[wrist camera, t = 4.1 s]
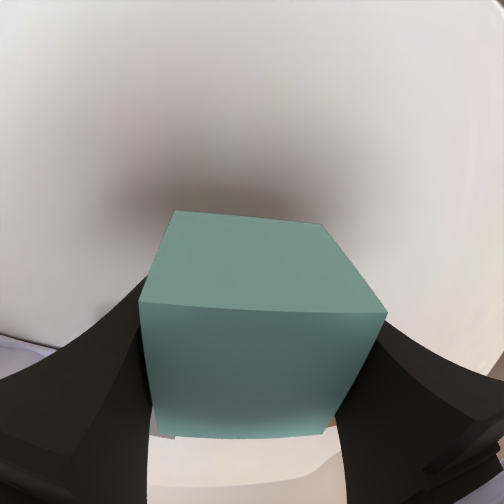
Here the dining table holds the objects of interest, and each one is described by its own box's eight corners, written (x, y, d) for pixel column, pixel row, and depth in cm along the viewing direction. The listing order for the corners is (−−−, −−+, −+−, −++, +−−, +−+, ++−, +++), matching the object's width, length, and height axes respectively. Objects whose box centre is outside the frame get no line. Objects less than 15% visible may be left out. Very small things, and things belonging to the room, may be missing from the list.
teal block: (173, 328, 12) (159, 434, 7) (174, 210, 10) (138, 301, 5) (292, 334, 12) (322, 433, 8) (321, 224, 10) (387, 312, 6)
